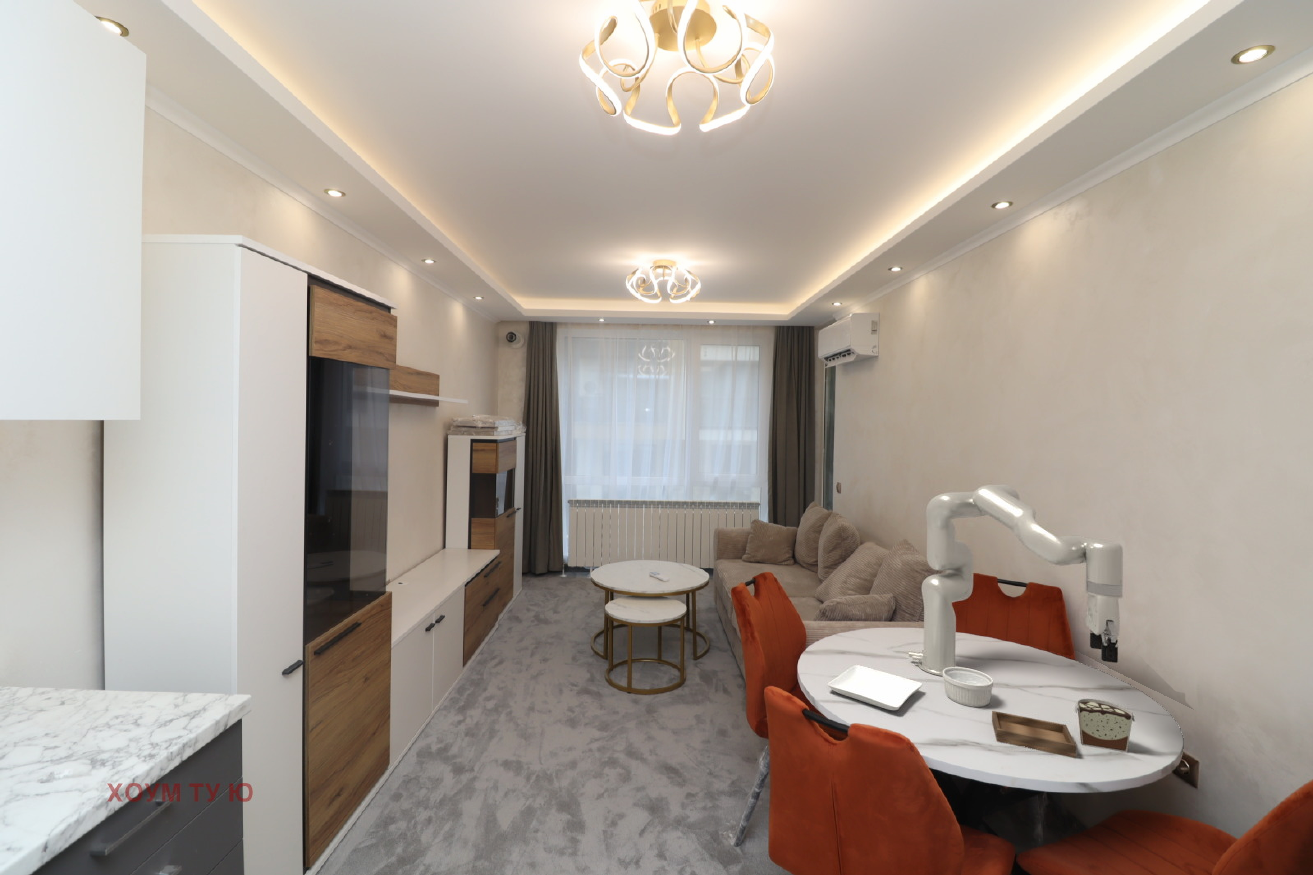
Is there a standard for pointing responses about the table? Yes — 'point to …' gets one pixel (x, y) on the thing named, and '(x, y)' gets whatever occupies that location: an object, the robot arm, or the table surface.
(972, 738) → the table surface
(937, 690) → the table surface
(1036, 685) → the table surface
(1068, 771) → the table surface
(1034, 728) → the tray
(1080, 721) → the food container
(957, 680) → the ramekin
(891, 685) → the salad plate
